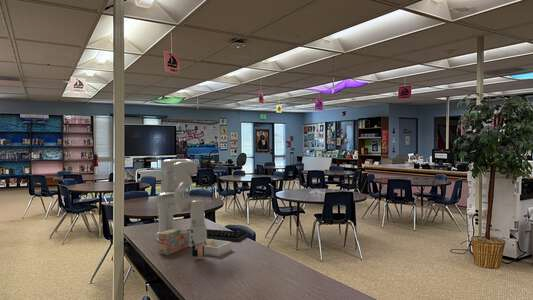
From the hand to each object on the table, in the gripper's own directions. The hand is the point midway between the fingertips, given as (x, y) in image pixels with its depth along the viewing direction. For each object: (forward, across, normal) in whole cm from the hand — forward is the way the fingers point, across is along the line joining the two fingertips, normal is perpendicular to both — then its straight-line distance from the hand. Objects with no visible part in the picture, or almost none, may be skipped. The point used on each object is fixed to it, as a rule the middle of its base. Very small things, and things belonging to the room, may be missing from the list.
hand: (198, 254), depth 201 cm
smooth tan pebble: (+1, 0, 0) cm, 1 cm away
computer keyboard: (+4, +44, +22) cm, 49 cm away
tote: (+3, +15, +2) cm, 15 cm away
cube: (+2, +15, +6) cm, 16 cm away
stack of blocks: (+3, +10, +25) cm, 27 cm away
